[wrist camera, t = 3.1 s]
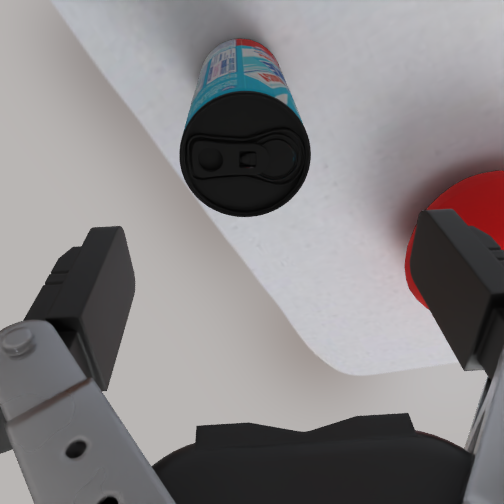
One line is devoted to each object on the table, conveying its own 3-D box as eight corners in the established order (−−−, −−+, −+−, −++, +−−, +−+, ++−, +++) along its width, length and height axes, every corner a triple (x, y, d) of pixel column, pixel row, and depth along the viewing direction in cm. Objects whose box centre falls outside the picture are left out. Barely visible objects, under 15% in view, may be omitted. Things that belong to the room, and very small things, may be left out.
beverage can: (271, 127, 34) (292, 226, 22) (195, 113, 33) (172, 207, 21) (289, 46, 31) (327, 107, 18) (206, 28, 30) (187, 78, 18)
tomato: (570, 146, 36) (678, 206, 27) (526, 270, 43) (600, 349, 34) (396, 161, 36) (448, 226, 27) (382, 282, 43) (419, 364, 35)
